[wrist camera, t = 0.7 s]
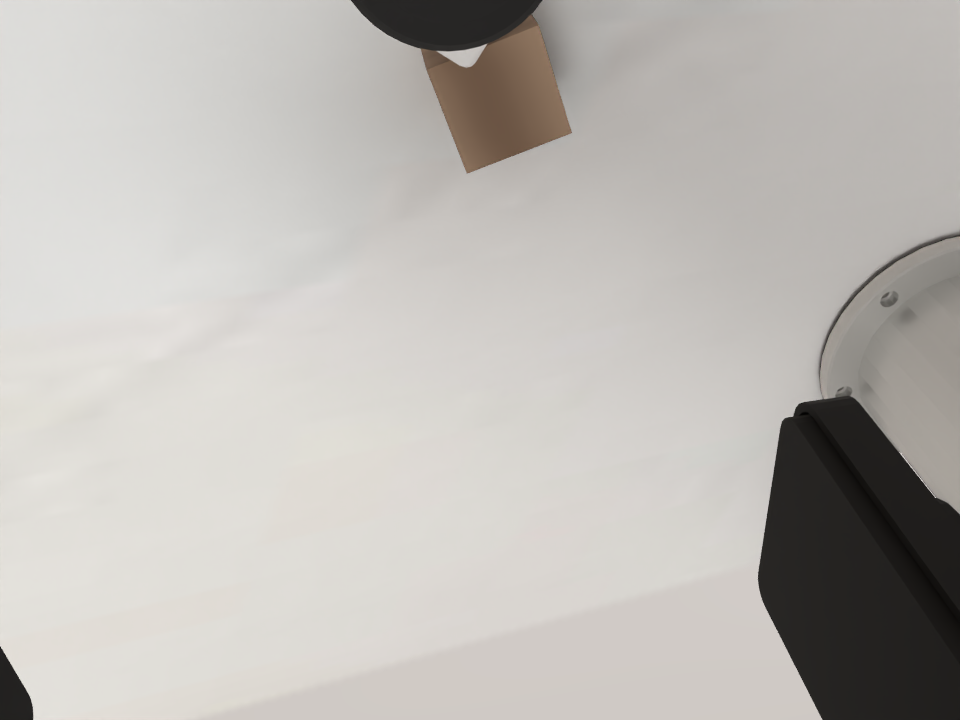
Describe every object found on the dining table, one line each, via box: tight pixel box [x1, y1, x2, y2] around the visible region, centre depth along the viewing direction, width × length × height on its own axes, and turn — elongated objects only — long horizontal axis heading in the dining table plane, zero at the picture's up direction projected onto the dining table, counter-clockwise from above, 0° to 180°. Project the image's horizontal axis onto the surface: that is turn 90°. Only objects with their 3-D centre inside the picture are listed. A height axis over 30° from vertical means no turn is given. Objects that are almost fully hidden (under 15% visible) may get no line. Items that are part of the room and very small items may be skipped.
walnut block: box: [421, 15, 572, 173], centre depth 34 cm, size 4×4×5 cm
